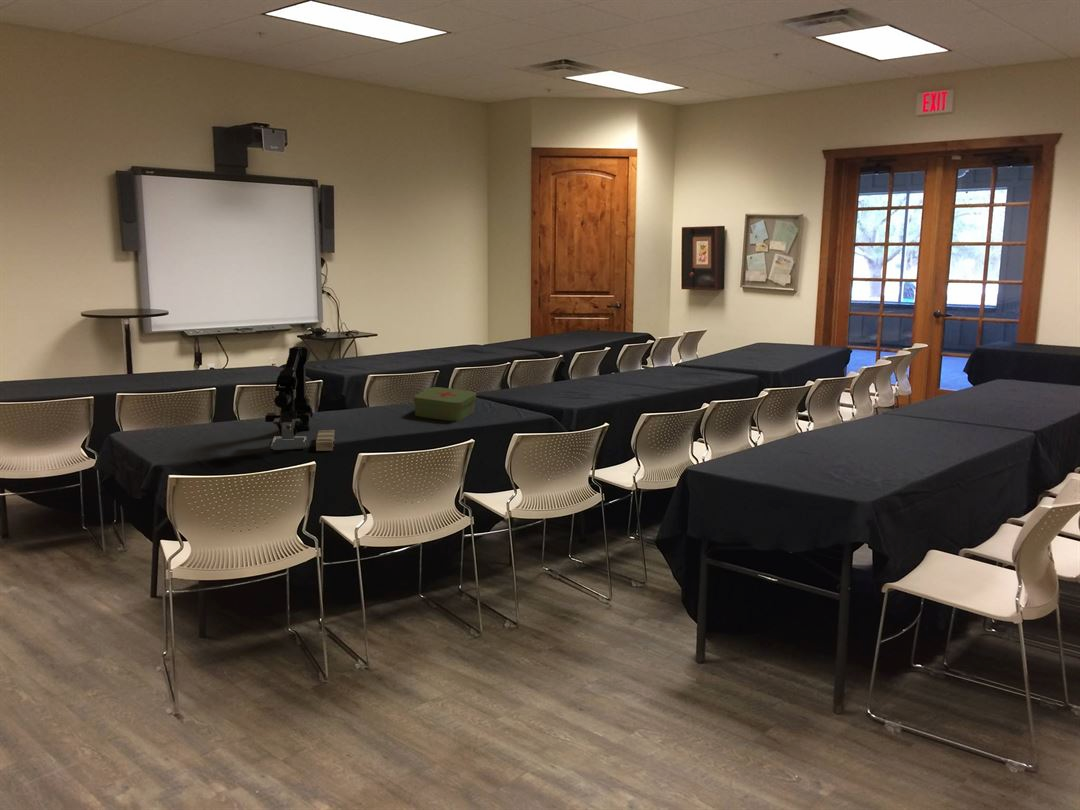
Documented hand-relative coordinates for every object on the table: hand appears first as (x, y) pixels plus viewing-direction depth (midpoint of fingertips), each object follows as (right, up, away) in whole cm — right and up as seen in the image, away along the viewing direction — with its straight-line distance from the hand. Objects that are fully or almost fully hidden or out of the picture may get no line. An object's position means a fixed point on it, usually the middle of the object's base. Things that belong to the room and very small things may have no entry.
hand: (288, 435), depth 391 cm
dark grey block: (0, -1, 0) cm, 1 cm away
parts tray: (0, -4, +1) cm, 4 cm away
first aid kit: (+63, +9, +64) cm, 90 cm away
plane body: (+16, -4, +4) cm, 17 cm away
